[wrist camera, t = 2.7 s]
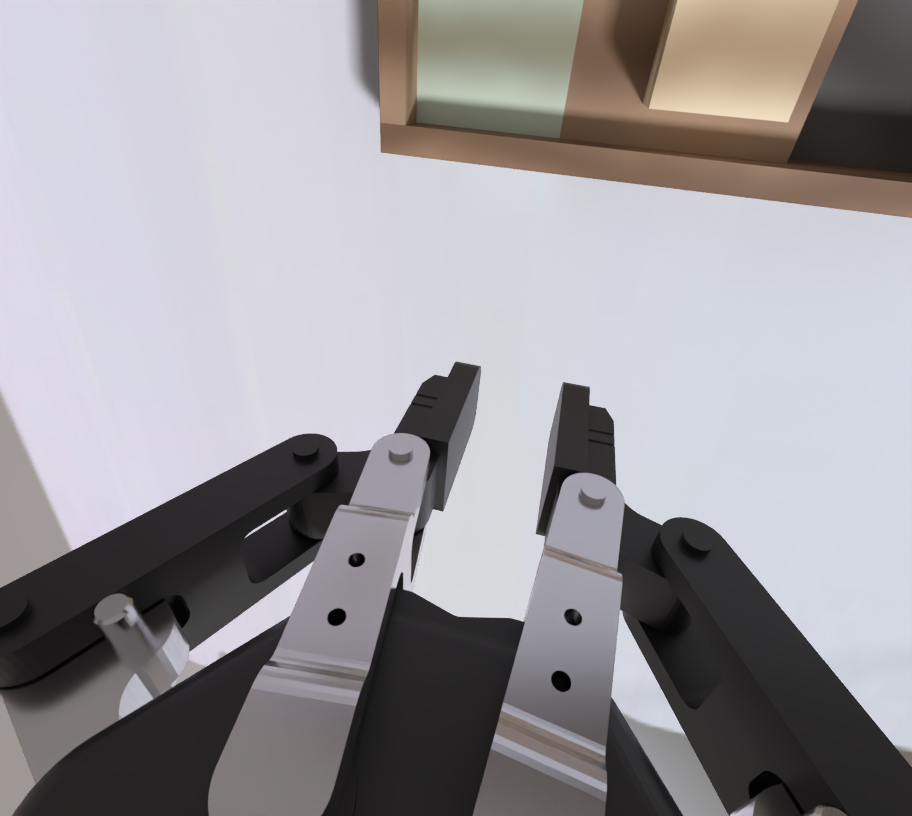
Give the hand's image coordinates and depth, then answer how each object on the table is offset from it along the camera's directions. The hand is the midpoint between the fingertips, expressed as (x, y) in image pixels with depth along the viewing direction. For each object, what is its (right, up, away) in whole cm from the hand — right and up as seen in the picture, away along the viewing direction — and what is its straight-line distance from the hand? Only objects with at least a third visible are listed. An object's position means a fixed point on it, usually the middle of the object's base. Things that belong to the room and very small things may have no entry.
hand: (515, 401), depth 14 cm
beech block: (+11, +17, +10) cm, 23 cm away
